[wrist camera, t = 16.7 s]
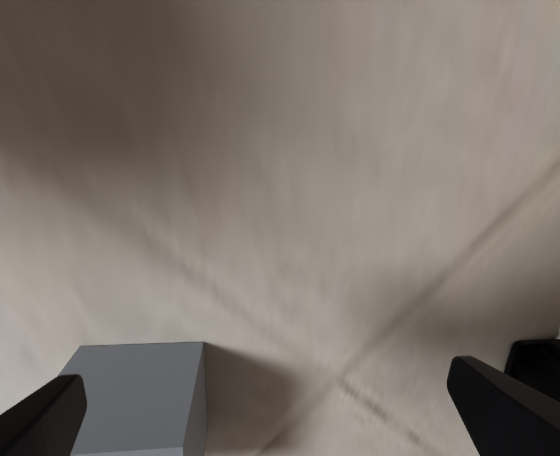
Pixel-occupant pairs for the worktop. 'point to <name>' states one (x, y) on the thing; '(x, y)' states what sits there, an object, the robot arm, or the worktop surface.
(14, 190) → the worktop surface
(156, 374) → the plain gray cube
